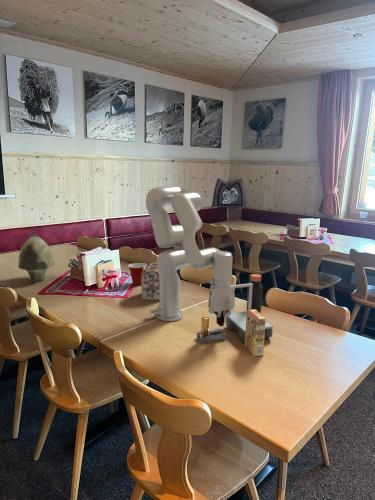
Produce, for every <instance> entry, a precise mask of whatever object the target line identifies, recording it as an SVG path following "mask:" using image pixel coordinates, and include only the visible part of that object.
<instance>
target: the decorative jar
mask: <svg viewBox="0 0 375 500" xmlns="http://www.w3.org/2000/svg"><path fill="white" fill-rule="evenodd" d="M140 286H141V288H140V289H141V300H147V301H159V270H158V265H157V262H151V263H150V264H149V265H147V266H145V267H144V268H143V270H142V275H141V285H140Z"/></svg>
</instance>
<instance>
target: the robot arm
mask: <svg viewBox="0 0 375 500" xmlns="http://www.w3.org/2000/svg"><path fill="white" fill-rule="evenodd" d="M145 206H146V210H147V213H148V215H149V217H150V221H151V226H152V230H153V234H154V239H155V243H156V244H157V246H158V247H159V248H161V249H163V248H165V249H166V248H170V247H174V249H173V248H172V249H168V250H165V251H163V252H160V253H159V254H158V256H157V258H156V263H157V265H158V270H159V300H158V301H159V302H158V303H159V304H158V305H157V307H156V308H152V309H149V310H148V311H149V314H153V316H156V318H157V319H158V320H160V321H164V322H175V321H178V320H180V319H182V318H183V316H184V313H183V312H182V311H181V309H180V308H181V307H180V306H181V303H180V302H181V301H180V300H181V298H180V297H181V296H180V295H181V279H180V276H179V274H178V273H177V272H178V271H177V270H181V269H184V268H187V267H189V266H191V267H192V268H193V269H195V270H204V269H207V268H209V267H210V268H212V278H211V280H209V285H210V288H209V293H208V294H209V295H208V300H207V301H208V303H207V305H208V306H207V307H208V313H209V314H214V315H215V316H216V322H215V323H216V324H217V325H218V326H219V327H224V325H225V324H226V314H228V312H230V311H231V312H232V311H234V309H235V307H236V305H235V304H236V302H235V301H236V299H235V288H234V287H233V285H234V284H232V278H233V277H232V275H233V254H232V253H231V252H230V251H222V250H220V249H218V248H216V247H207V248H203V249H199V247H198V245H197V242H196V233H197V231H199V230H200V229H201V228H202V226H203V221H202V219H201V217H200V215H199V213H198V211H200V210H201V209H202V207H203V199H202V197H201V195H200V194H199V193H197V192H196V191H193V190H191V189H188V188H185V187H182V186H178V185H171V186H156V187H152V188H151V189H150V190H149V191H148V192H147V194H146V196H145ZM165 206H166V207H167V206H171V208H172V209H173V211H174V213H175V216H176V218H177V219H178V222H179V224H174V225H173V224H172V222H171V217H170V215H169V213H168V211H167V210H166V209H165V208H164V207H165Z"/></svg>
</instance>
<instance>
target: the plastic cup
mask: <svg viewBox="0 0 375 500" xmlns="http://www.w3.org/2000/svg"><path fill="white" fill-rule="evenodd" d="M147 264H148V263H144V262H135V263H131V264H130V263H129V264H128V265H127V267H128V269H129V271H130V272H129V273H130V276H131V279H132V280H131V281H132V285H133V286H138V287H140V286H141V275H142V270H143V268H144V267H145V266H148V265H147Z"/></svg>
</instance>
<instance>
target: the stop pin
mask: <svg viewBox="0 0 375 500" xmlns="http://www.w3.org/2000/svg"><path fill="white" fill-rule="evenodd" d="M200 321H201V323H200V324H201V325H200V328H201V329H200V332H201V334H199V337H200V339H201V337H203V336H209V335H210V333H217V332H222V333H224V332H225V328H224V326H221V327H217V328H210V326H209V325H210V317H209V316H202V317H201V320H200ZM209 328H210V329H209Z"/></svg>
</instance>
